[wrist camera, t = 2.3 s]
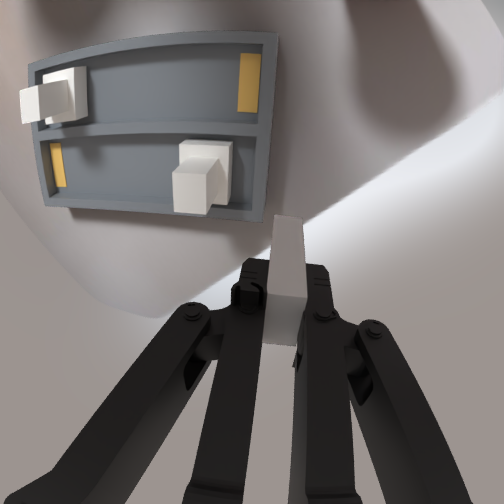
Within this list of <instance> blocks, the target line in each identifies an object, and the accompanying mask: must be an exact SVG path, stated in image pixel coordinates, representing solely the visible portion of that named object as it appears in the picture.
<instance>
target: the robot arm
mask: <svg viewBox="0 0 504 504" xmlns="http://www.w3.org/2000/svg"><path fill="white" fill-rule="evenodd" d="M330 286H331V285H330V279H329V272H328V271H327V270H326V268H325V267H324V266H323V265H316V264H307V263H305V248H304V235H303V222H302V218H301V217H293V216H284V215H274V224H273V233H272V243H271V253H270V260H264V259H255V258H248V259H247V260H246V261H245V262H244V263H243V264H242V269H241V273H240V278H239V281H238V282H237V283H235V284H234V285H233V287H232V288H231V305H229V306H228V307H225V308H223V309H219V310H210V311H209V309H208V308H207V307H206V306H205V305H203V304H201V303H197V302H188V303H185V304H183V305H181V306H180V307H178V308H177V309H176V311H175V312H174V313H173V314H172V315H171V317H170V318H169V319H168V320H167V322H166V323H165V324H164V325H163V327H162V328H161V329H160V330H159V332H158V333H157V334H156V335H155V337H154V338H153V339H152V340H151V342H150V343H149V344H148V346H147V347H146V348H145V349H144V351H143V352H142V353H141V354H140V356H139V357H138V358H137V359H136V361H135V362H134V363H133V364H132V366H131V367H130V368H129V370H128V371H127V372H126V373H125V375H124V376H123V377H122V378H121V380H120V381H119V382H118V384H117V385H116V386H115V387H114V389H113V390H112V391H111V393H110V394H109V395H108V396H107V398H106V399H105V400H104V402H103V403H102V404H101V406H100V407H99V408H98V409H97V411H96V412H95V413H94V415H93V416H92V417H91V419H90V420H89V421H88V423H87V424H86V425H85V426H84V428H83V429H82V430H81V432H80V433H79V434H78V436H77V437H76V438H75V440H74V441H73V442H72V444H71V445H70V446H69V448H68V449H67V450H66V452H65V453H64V454H63V456H62V457H61V458H60V460H59V461H58V462H57V464H56V465H55V467H54V468H53V469H52V471H50V472H48V473H47V474H45V475H43V476H42V477H40V478H38V479H36V480H35V481H33V482H32V483H30V484H28V485H26V486H24V487H23V488H21V489H19V490H17V491H16V492H14V493H12V494H10V495H9V496H8V497H7V498H6V499H5V501H4V504H125V502H126V501H127V499H128V498H129V496H130V495H131V493H132V491H133V490H134V488H135V487H136V485H137V483H138V482H139V480H140V479H141V477H142V475H143V474H144V472H145V471H146V469H147V467H148V466H149V464H150V463H151V461H152V459H153V458H154V456H155V455H156V453H157V451H158V450H159V448H160V446H161V445H162V443H163V442H164V440H165V438H166V437H167V435H168V433H169V432H170V430H171V429H172V427H173V425H174V423H175V422H176V420H177V418H178V417H179V415H180V413H181V412H182V410H183V409H184V407H185V405H186V404H187V402H188V400H189V399H190V397H191V395H192V394H193V392H194V390H195V389H196V387H197V385H198V383H199V382H200V380H201V379H202V377H203V375H204V374H205V372H206V370H207V369H208V367H209V365H210V363H211V361H212V360H218V363H217V367H216V371H215V375H214V380H213V384H212V388H211V393H210V397H209V402H208V406H207V410H206V415H205V419H204V424H203V428H202V432H201V437H200V441H199V446H198V450H197V455H196V460H195V464H194V468H193V473H192V477H191V480H190V482H189V484H188V486H187V487H186V490H185V493H184V497H183V501H182V504H242V503H243V495H244V486H245V478H246V471H247V464H248V456H249V448H250V440H251V433H252V424H253V416H254V408H255V400H256V392H257V383H258V374H259V366H260V357H261V347H262V343H269V344H277V345H288V346H296V343H297V351H296V355H295V359H294V362H293V366H292V367H295V385H294V411H293V412H294V413H293V433H292V452H291V469H290V483H289V496H288V504H363V503H362V500H361V497H360V496H359V495H358V494H357V493H356V490H355V476H354V455H353V438H352V437H353V436H352V422H351V411H350V410H351V409H350V401H351V403H352V406H353V409H354V412H355V415H356V417H357V420H358V423H359V426H360V428H361V431H362V434H363V437H364V440H365V442H366V445H367V448H368V451H369V454H370V457H371V460H372V463H373V465H374V468H375V471H376V474H377V477H378V480H379V483H380V486H381V489H382V492H383V495H384V499H385V501H386V504H473V503H472V502H471V500H470V497H469V494H468V492H467V489H466V487H465V484H464V482H463V479H462V477H461V475H460V472H459V469H458V467H457V465H456V462H455V460H454V458H453V455H452V453H451V451H450V449H449V446H448V444H447V442H446V440H445V438H444V435H443V433H442V431H441V429H440V427H439V425H438V422H437V420H436V418H435V416H434V414H433V412H432V410H431V408H430V406H429V404H428V402H427V400H426V398H425V396H424V394H423V392H422V390H421V388H420V386H419V384H418V382H417V380H416V378H415V376H414V375H413V373H412V371H411V369H410V367H409V365H408V363H407V361H406V360H405V358H404V356H403V354H402V352H401V351H400V349H399V347H398V345H397V343H396V342H395V340H394V338H393V336H392V334H391V333H390V331H389V329H388V328H387V327H386V326H385V325H384V324H383V323H381V322H379V321H376V320H369V319H368V320H365V321H362V322H361V323H360V324H359V326H358V325H355V324H352V323H349V322H347V321H344V320H343V319H342V318H340V316H339V314H338V312H337V311H336V310H335V309H334V305H333V298H332V291H331V287H330Z"/></svg>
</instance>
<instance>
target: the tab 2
mask: <svg viewBox="0 0 504 504" xmlns="http://www.w3.org/2000/svg"><path fill="white" fill-rule="evenodd" d="M232 158H233V141H227V140H207V139H186V140H184V141H183V142H182V143H180V144H179V163H180V165H179V166H178V167H177V168H176V169H175V170H174V171H173V172H172V184H173V202H174V212H180V213H192V214H204V215H206V214H207V213H208V211H209V209H210V207H211V205H212V204H221V205H227V204H228V202H229V199H230V197H231V184H232Z"/></svg>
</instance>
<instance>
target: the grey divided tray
mask: <svg viewBox="0 0 504 504" xmlns="http://www.w3.org/2000/svg"><path fill="white" fill-rule="evenodd" d="M278 43H279V36H278V33H275V32H259V31H196V32H180V33H169V34H159V35H150V36H143V37H136V38H129V39H123V40H118V41H112V42H107V43H102V44H98V45H93V46H89V47H85V48H81V49H77V50H73V51H69V52H66V53H62V54H59V55H55V56H52V57H49V58H46V59H43V60H40V61H37V62H34V63H31V64H28V84H29V88H30V87H33V86H36V85H41V84H43V75H46V74H49V73H53V72H57V71H61V70H64V69H69V68H73V67H81V66H86V76H87V107H88V116H87V117H84V118H81V119H78V120H74V121H66V122H59V123H53V124H46V123H45V119H43V120H40V121H34V122H31V127H32V135H33V143H34V150H35V157H36V163H37V169H38V175H39V180H40V185H41V190H42V195H43V200H44V204H45V206H52V207H71V208H89V209H105V210H120V211H134V212H147V213H160V214H173V215H185V216H196V217H207V218H218V219H229V220H239V221H249V222H259V223H263V217H264V210H265V202H266V191H267V179H268V168H269V156H270V144H271V132H272V120H273V107H274V95H275V82H276V69H277V56H278ZM186 139H207V140H227V141H233V158H232V184H231V197H230V199H229V202H228V204H227V205H221V204H212V205H211V207H210V209H209V211H208V213H207V214H206V215H204V214H192V213H180V212H174V202H173V184H172V172H173V171H174V170H175V169H176V168H177V167H178V166H179V165H180V163H179V144H180V143H182V142H183V141H184V140H186Z"/></svg>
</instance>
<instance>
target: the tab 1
mask: <svg viewBox="0 0 504 504" xmlns="http://www.w3.org/2000/svg"><path fill="white" fill-rule="evenodd" d="M20 105H21V117H22V124H24V123H29V122H34V121H40V120H43V119H45V123H46V124H53V123H59V122H66V121H74V120H78V119H81V118H84V117H87V116H88V107H87V76H86V66H81V67H73V68H69V69H64V70H61V71H57V72H53V73H49V74H46V75H43V84H41V85H36V86H33V87H30V88H26V89H23V90H20Z"/></svg>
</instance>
